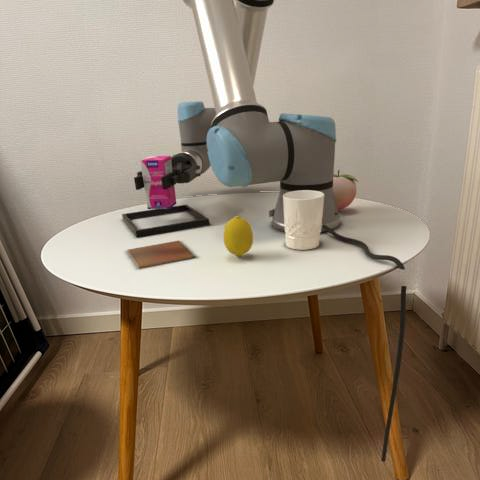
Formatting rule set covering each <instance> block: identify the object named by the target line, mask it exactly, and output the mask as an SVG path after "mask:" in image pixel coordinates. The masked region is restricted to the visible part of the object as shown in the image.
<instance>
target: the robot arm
mask: <svg viewBox="0 0 480 480" xmlns="http://www.w3.org/2000/svg"><path fill="white" fill-rule="evenodd" d="M234 1H235V2H234ZM274 1H275V0H182V2H183V4H184V5H186V6H187V7H188V8H189V9H190V10H192V15H193V18H194V23H195V28H196V32H197V36H198V40H199V44H200V49H201V53H202V58H203V62H204V63H203V64H204V66H205V71H206V75H207V79H208V83H209V88H210V92H211V97H212V102H213V106H214V107H205V103H204V102H203V101H201V100H198V101H182V102H179V103H178V104H177V123H178V129H179V138H180V149H181V151H180V152H178V153H176V154H172V156H171V162H172V171H173V172H171V173H169V174H167V175H165V176H163V177H161V180H162V187H163V190H166V189H168V188H170V187H172V186H173V185H174V186H175V185H177V184H189V183H190V182H192V181H194V180H195V179H197V178H199V177H201V176H202V175H203V174H205V173H206V172H207V171H208V170H209V169H210V168H211V171H213V174H214V176H215V177H216V179H217V180H218V182H220V183H221V184H222V185H224V186H225V187H229V188H233V187H243V188H244V187H245V188H246V187H249V186H252V185H261V184H262V185H263V184H267V183H277V182H279V194H278V197H277V200H276V202H275V206H274V208H272V209H270V210H269V211H268V218H272V219H271V220H272V227H273V228H274V229H276V230H278V231H281V232H285V227H284V210H283V194H285V193H287V192H291V191H299V190H312V191H319V192H322V193H324V204H323V217H322V226H321V232H320V233H324V232H328V233H329V234H331V236H332V237H334V238H336V239H338V240H340V241H343V242H347V243H351V244H355V245H357V246H360V247H361V248H363V250H364V253H365V255H366V256H367V257H369V258H370V259H373V260H378V261H390V262H392V263H394V264H395V265H396V266H397V267H398V269H399V270H406V267H405V266H404V264H403V263H402V262H401V260H400V259H399V258H397V257H395V256H394V255H388V254H387V255H386V254H375V253H373V252H371V250H370V249H369V246H368V245H367V244H366V243H365V242H364V241H362V240H359V239H355V238H351V237H347V236H345V235H344V236H343V235H341V234H339V233H337V232H336V231H334V230H335V229H337V228H338V227H339V225H340V219H341V217H340V212H339V211H338V208H337V204H336V200H335V197H334V193H333V175H334V174H335V158H336V157H335V154H336V143H337V133H336V131H337V130H336V122H335V120H334V118H332V117H330V116H324V115H323V116H322V115H311V114H297V113H285V112H284V113H283V112H282V113H280V114H279V118H278V121H270V119H269V115H268V111H267V108H266V107H265V106H264V105H262V104H260V103H258V101H257V97H256V93H255V88H254V85H255V79H256V74H257V68H258V63H259V57H260V53H261V47H262V42H263V37H264V32H265V26H266V21H267V15H268V10H269V8H271V7H272V6H273V5H274ZM133 180H134V185H135V190H136V191H139V190H142V189H143V188H144V181H143V175H142V170H140V171H138V172H136V176H135V177H133ZM144 189H145V188H144ZM406 306H407V286H406V285H401V288H400V313H399V314H400V317H399V332H398V344H397V351H396V352H397V353H396V360H395V367H394V375H393V382H392V387H391V394H390V400H389V406H388V412H387V419H386V423H385V431H384V437H383V444H382V451H381V462H382V463H385V462H386V460H387V459H386V458H387V452H388V444H389V437H390V432H391V427H392V421H393V414H394V409H395V408H394V407H395V402H396V397H397V396H396V395H397V390H398V384H399V379H400V371H401V365H402V358H403V350H404V342H405V331H406V330H405V329H406V312H407V307H406Z"/></svg>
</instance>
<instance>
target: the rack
mask: <svg viewBox="0 0 480 480" xmlns="http://www.w3.org/2000/svg"><path fill="white" fill-rule="evenodd" d="M180 212H186V213H188V214H189V215H191V216H192V217H193V218H195V219H196V220H194V219H193V220H189V221H184V222H177V223H170V224H165V225H158V226H153V227H146V228H140V229H138V227H137V226H136V225H135V224H134V222H133V221H132V220H135V219H136V220H137V219H141V218H148V217H155V216H161V215H162V216H163V215H168V214H174V213H180ZM121 218H122V220H123V222H124V223H125V224H126V226H127V227H128V229H130V231H131V232H132V233H133V235H134V236H135V237H136V238H142V237H148V236H153V235H154V236H155V235H160V234H165V233H171V232H177V231H183V230H189V229H194V228H200V227H207V226H210V218H209V217H207V216H205V215H204V214H202V213H201V212H199V211H197V210H196V209H195V208H193V207H192V206H190V205H188V204H180V205H174V206H173V207H172V208H170V209H146V210H140V211H134V212H126V213H122V214H121Z"/></svg>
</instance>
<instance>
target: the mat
mask: <svg viewBox="0 0 480 480" xmlns="http://www.w3.org/2000/svg"><path fill="white" fill-rule="evenodd" d="M127 253H128V254H129V255H130V257H131V259H132V260H133V261H134V263H135V264H136V267H137V268H138V269H143V268H149V267H153V266H154V267H155V266H158V265H164V264H168V263H174V262H180V261H184V260H189V259H195V258H196V255H195V254H193V253H192V252H191V250H189V249H188V248H187V247H186V246H185V245H184V244H182V242H181V241H180V240H175V241H168V242H162V243H157V244H150V245H146V246H140V247H136V248H130V249H127Z"/></svg>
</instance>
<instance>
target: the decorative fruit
mask: <svg viewBox="0 0 480 480" xmlns="http://www.w3.org/2000/svg"><path fill="white" fill-rule="evenodd" d="M356 182H357V183H359V181H358V179H357V178H356V177H355V176H353V175H351V174H340V169H338V170H337V174H336V173H334V175H333V193H334V197H335V200H336V204H337V208H338V212H339V211H342V210H345V208H347V207H349V206H350V205H351V204H352V203H353V202H354V200H355V199H356V196H357V184H356Z"/></svg>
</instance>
